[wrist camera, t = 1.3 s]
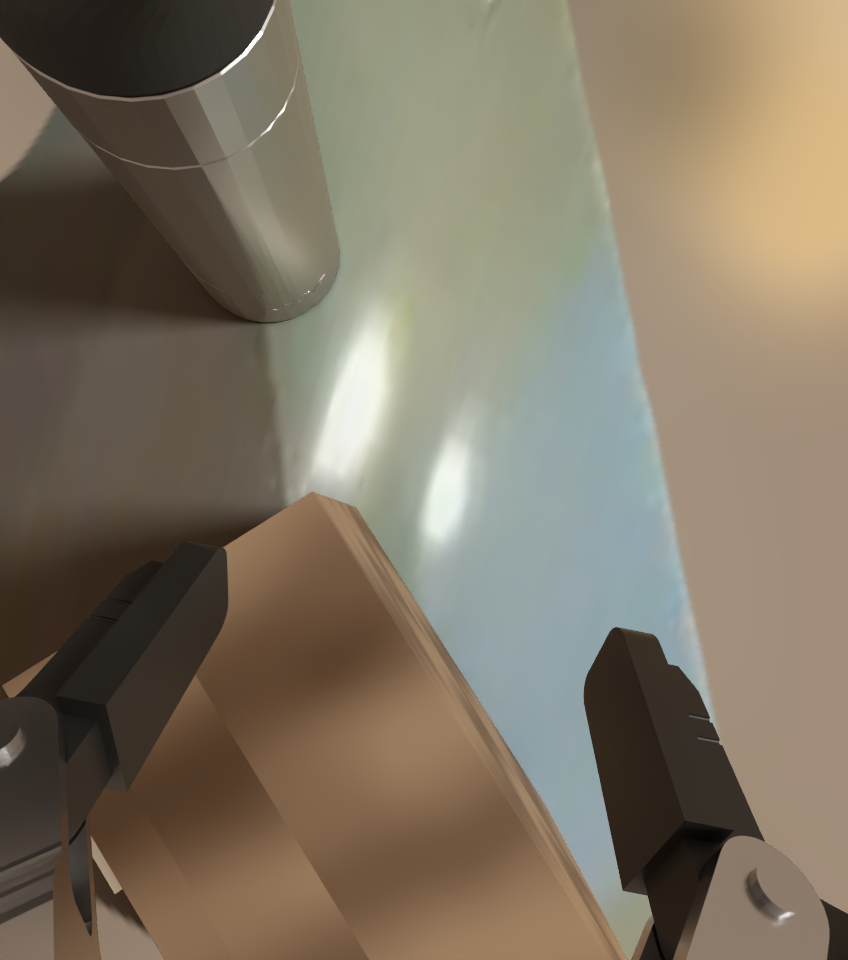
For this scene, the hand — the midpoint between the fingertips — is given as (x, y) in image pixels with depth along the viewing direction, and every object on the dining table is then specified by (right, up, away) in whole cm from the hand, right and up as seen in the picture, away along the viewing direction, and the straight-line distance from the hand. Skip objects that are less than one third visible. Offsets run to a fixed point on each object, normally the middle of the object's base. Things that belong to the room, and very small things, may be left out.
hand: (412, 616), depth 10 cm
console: (-2, -11, +20) cm, 23 cm away
